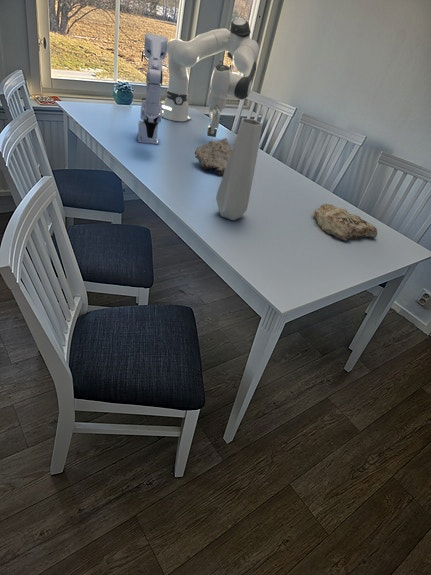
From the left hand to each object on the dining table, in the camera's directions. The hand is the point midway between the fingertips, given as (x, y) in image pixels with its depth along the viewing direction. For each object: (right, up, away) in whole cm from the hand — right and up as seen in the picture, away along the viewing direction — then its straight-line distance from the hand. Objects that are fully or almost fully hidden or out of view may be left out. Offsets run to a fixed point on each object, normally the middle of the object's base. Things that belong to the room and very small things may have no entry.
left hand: (150, 134), depth 165 cm
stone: (+76, -43, -18) cm, 89 cm away
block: (+26, +12, +29) cm, 41 cm away
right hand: (+27, +13, +28) cm, 41 cm away
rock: (+28, -14, +5) cm, 31 cm away
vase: (+34, -41, -27) cm, 60 cm away
